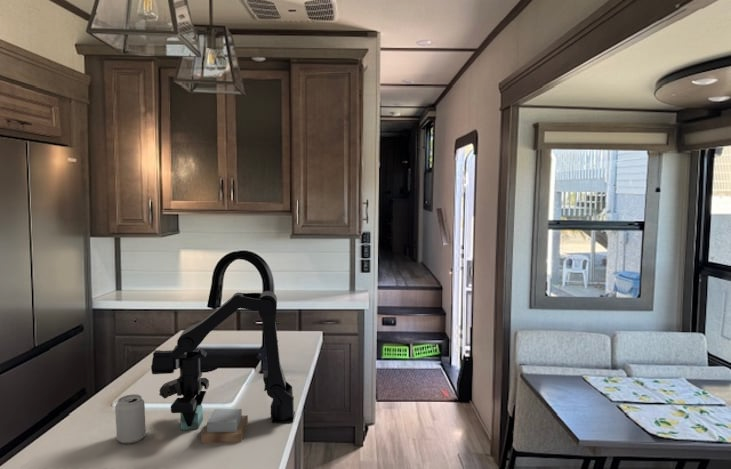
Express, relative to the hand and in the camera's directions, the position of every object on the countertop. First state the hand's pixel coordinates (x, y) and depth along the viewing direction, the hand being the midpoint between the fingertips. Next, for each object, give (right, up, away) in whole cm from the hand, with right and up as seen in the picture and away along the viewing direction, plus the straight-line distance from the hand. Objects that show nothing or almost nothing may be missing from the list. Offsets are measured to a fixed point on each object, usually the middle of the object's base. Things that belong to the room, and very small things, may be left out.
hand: (192, 421), depth 150 cm
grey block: (+11, +1, -5) cm, 12 cm away
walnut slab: (+11, -2, -4) cm, 12 cm away
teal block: (0, -1, 0) cm, 1 cm away
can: (-15, -2, -8) cm, 17 cm away
